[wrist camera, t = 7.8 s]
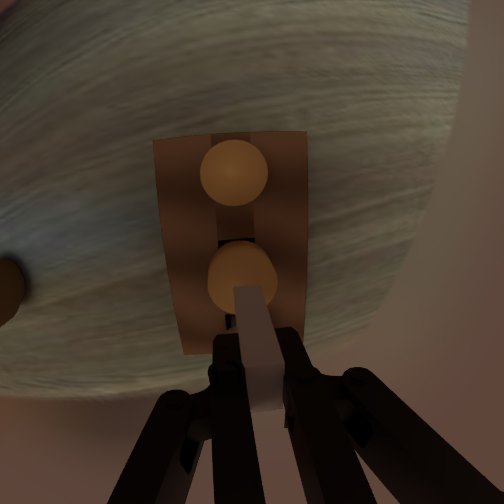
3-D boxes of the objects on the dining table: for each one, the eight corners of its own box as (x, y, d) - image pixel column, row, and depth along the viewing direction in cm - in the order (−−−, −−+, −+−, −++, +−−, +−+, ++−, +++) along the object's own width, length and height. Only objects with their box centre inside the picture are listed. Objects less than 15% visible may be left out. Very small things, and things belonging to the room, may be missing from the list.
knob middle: (208, 224, 25) (203, 254, 17) (259, 220, 25) (277, 249, 18) (212, 272, 26) (211, 317, 19) (261, 268, 27) (277, 311, 19)
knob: (204, 145, 25) (198, 142, 18) (252, 143, 25) (266, 138, 18) (207, 193, 27) (202, 208, 19) (255, 190, 27) (268, 204, 20)
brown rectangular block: (166, 143, 25) (153, 140, 20) (288, 135, 26) (306, 131, 21) (188, 322, 32) (184, 354, 26) (289, 313, 33) (303, 343, 27)
